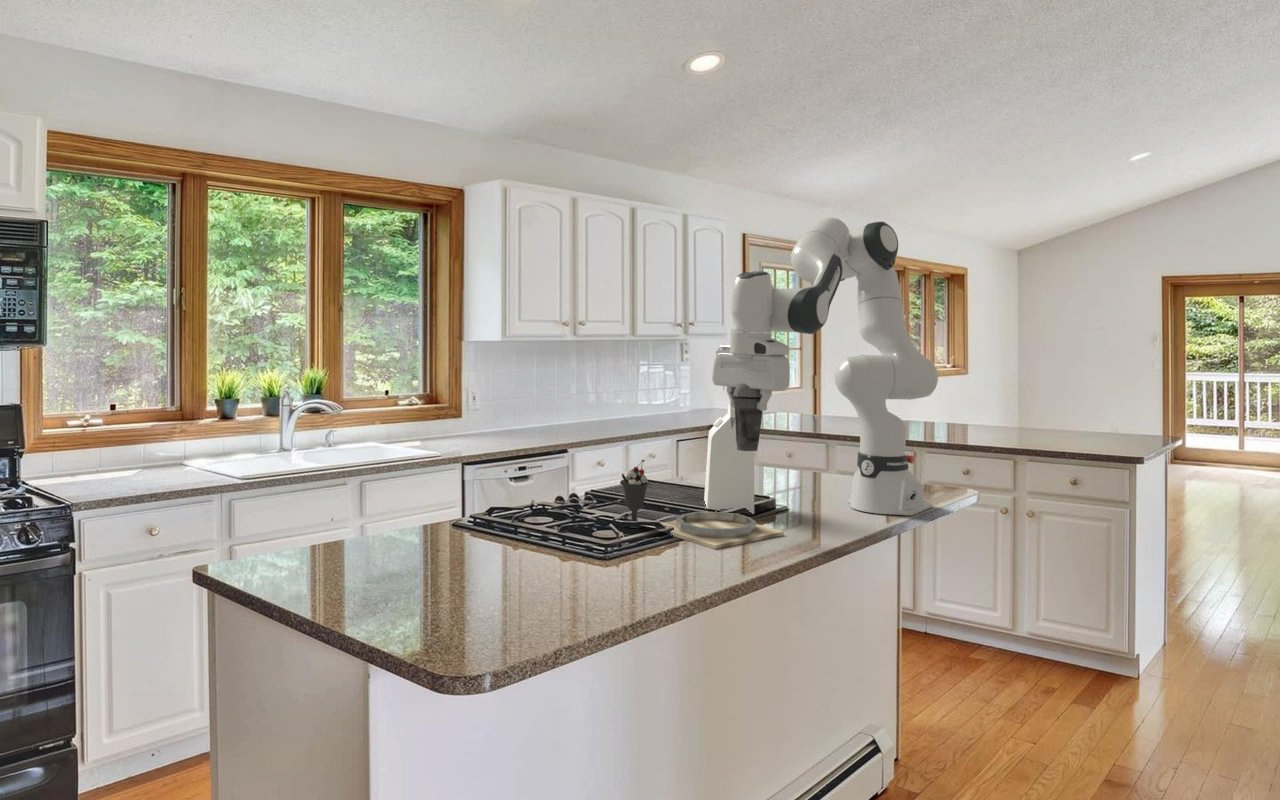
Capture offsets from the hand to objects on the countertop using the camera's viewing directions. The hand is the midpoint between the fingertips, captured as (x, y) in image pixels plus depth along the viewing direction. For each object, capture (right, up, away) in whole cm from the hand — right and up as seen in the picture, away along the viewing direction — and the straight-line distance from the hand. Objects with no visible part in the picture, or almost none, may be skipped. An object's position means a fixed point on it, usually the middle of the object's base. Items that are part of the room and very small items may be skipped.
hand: (748, 408), depth 190 cm
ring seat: (-7, -27, +2) cm, 28 cm away
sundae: (-25, -27, +5) cm, 37 cm away
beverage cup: (0, -9, +1) cm, 9 cm away
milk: (-2, -25, +27) cm, 37 cm away
